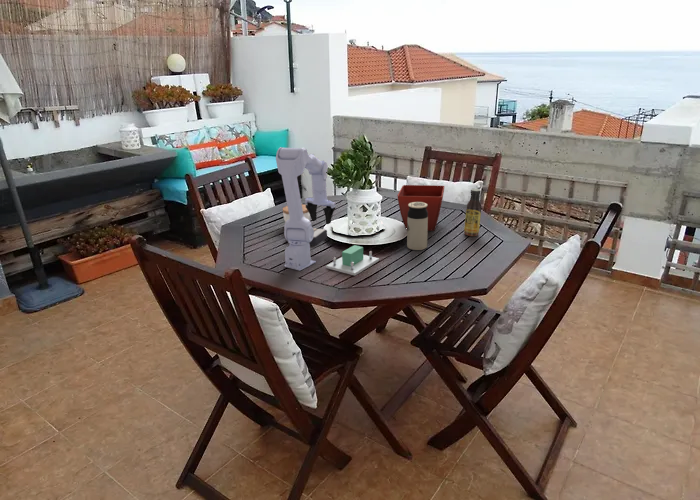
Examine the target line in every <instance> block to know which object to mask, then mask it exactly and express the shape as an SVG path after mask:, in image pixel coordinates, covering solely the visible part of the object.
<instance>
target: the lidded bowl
mask: <svg viewBox="0 0 700 500" xmlns="http://www.w3.org/2000/svg"><path fill="white" fill-rule="evenodd" d="M301 204H302V209H303V215H304V217H305V218H307V219H308V220H309V221H310V219H311V216H310V214H309V211H308V210H307V208H306V205H307V204H303V203H301ZM282 213H283V214H282V215H283V219H284V222H285V223H286V221H287V220H288V219H290V216H289V211H288V206H287V205H286V206H284V207H282Z"/></svg>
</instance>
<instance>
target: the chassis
mask: <svg viewBox="0 0 700 500" xmlns="http://www.w3.org/2000/svg"><path fill="white" fill-rule="evenodd" d="M332 260H333V261H332V262H330V263H329V264H327V265H326V266H325V268H326V269H327V270H333V271H336V272H340V273H344V274H347V275H351V276H357V275H359V274H360V273H362V272H364V271H365V270H366V269H368V268H370V267H371V266H373V265H374V264H377V263H378V262H379V261H380V258H379V257H375V256H373V251H372V250H370V251H369V255H367V254H363V260H362V261H360V262H358V263H357V264H355V265H354V262H351V266H347V265H343V264H342V256H341V257H339V258H337V257H335V256H333V258H332Z"/></svg>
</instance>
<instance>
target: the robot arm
mask: <svg viewBox="0 0 700 500" xmlns="http://www.w3.org/2000/svg"><path fill="white" fill-rule="evenodd" d="M275 161H276V162H275V163H276V166H277V170H278V171H277V172H278V173H279V175H281V180H282V184H283V189H284V194H285V195H284V196H285V200H286V206H288V211H289V216H290V219H288V220H287V221H286V222H285V223H284V226H283V227H284V231H283V234H284V239H285V238H286V240H287V241H288V242H287V243H288V244H289V245H288V246H287V247H285V250H284V259H285V264H284V267H285V268H289V269H292V270H295V271H299V272H300V271H302V270H304V269H306V268H308V267H310V266H311V265H314V264H316V260H312V258H311V245H310V243H309V242H311V241H312V239H313V236H314V230H313V226H312V222H315V221H317V209H318V206H323V207H324V208H322V209H323V213H324V216H325V224H326V225H329V224H331V223H332V219H333V214H334V212H335V210H336V208H337V207H336V206H337V205H336V201H335V202H334V201H331V200H330V199H329V200H328V192H327V178H328V169H329V168H328V163H327V162H326V161H325V160H320V159H319V157H316V156H315V154H314V153H310V154H309V153H308V150H307V148H306V147H301V148H300V147H282V146H280V147H279V148H278V149H277V151H276V156H275ZM305 169H306V170H307V171H308V174H309V175H310V176H311V191H312V197H306V198H305V199H304V203H305V205H306V208H307V210H308V211H309V214H310V219H311V220H310V219H309V220H308V219H307V218H305V217H304V215H303V209H302V204H303V203H302V199H301V193H300V187H299V182H298V177H299V176H301V175H302V174H303V173H304V171H305ZM326 169H327V170H326ZM326 172H327V173H326ZM311 221H312V222H311Z"/></svg>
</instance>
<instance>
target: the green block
mask: <svg viewBox="0 0 700 500" xmlns="http://www.w3.org/2000/svg"><path fill="white" fill-rule="evenodd" d="M363 255H364V247H363V246H360V245H355V244H354V245H352V246H350V247H349V248H346V249H345V250H343V251H341V257H342V264H343V265H347V266H351V262H354V265H355V264H357V263H358V262H360V261H362V260H363Z"/></svg>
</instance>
